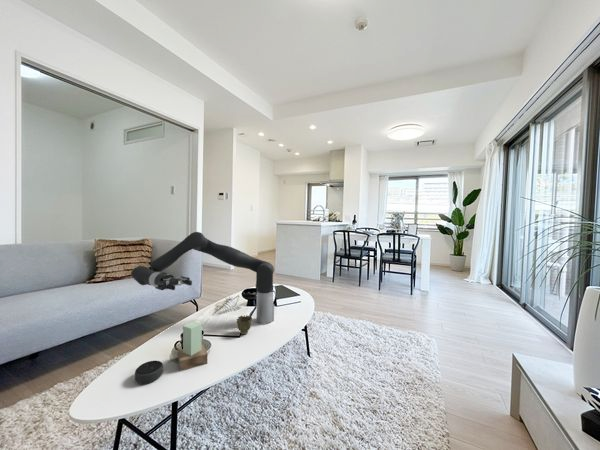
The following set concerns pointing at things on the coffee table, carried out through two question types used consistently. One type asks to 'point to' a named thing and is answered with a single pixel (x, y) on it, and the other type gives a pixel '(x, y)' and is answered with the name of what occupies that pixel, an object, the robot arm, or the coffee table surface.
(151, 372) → the smart speaker
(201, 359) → the walnut plinth
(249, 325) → the cup
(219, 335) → the coffee table surface
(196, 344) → the green block
